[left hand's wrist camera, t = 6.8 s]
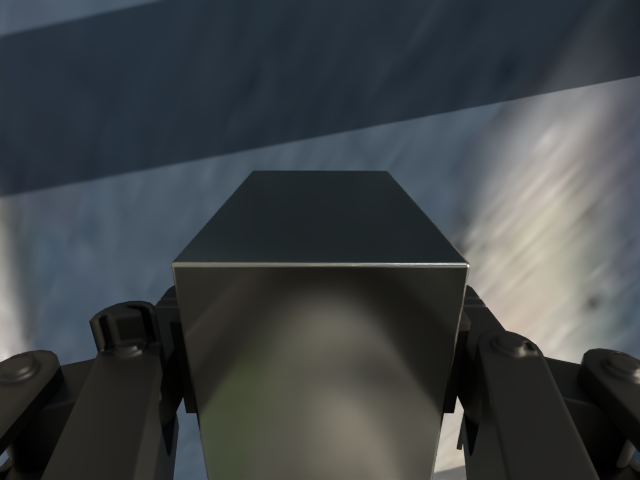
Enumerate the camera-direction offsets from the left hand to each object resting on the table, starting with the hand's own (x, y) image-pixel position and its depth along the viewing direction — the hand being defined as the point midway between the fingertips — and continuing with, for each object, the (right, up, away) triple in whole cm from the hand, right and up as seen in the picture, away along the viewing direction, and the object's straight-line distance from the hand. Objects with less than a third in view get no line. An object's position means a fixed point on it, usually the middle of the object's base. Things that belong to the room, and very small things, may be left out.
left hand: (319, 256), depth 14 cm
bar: (0, -7, +4) cm, 8 cm away
